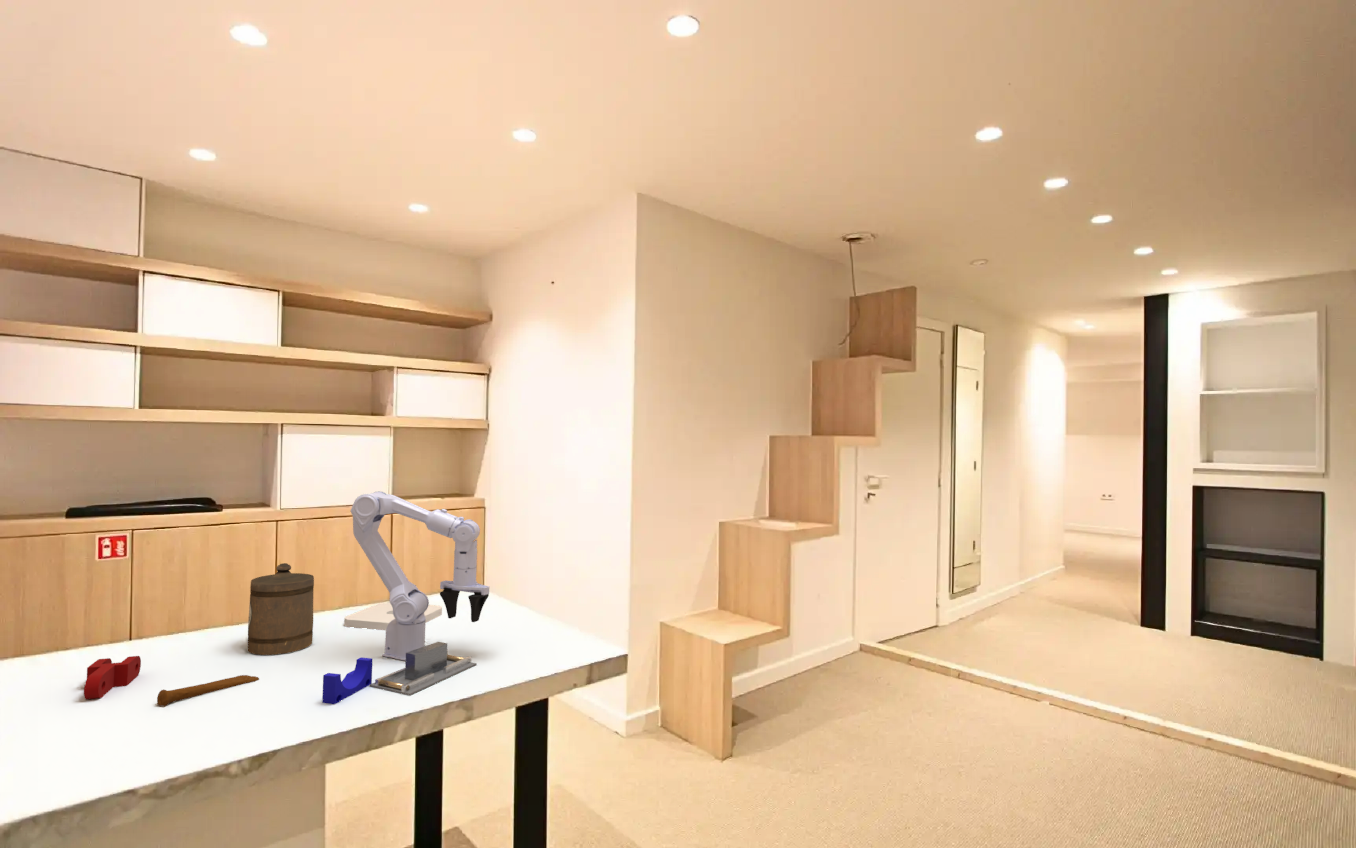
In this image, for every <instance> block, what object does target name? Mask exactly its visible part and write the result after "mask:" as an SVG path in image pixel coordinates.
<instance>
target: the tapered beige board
mask: <svg viewBox="0 0 1356 848" xmlns="http://www.w3.org/2000/svg"><path fill="white" fill-rule="evenodd" d="M424 615H425V617H426V623H425V624H427V623H428V622H430V621H433V620H434V619H436V618H438V617H441V616H442V615H443V606H441V605H437V604H429V605H428V608H427V610H426V611H425V612H424ZM394 619H395V617H394V615H393V608H392V605H391V604H390V601H387V602H386V601H385V602H379V603H377V604H374V605H371V606H369V607H366V608H364V609H361V610H359V611H357V612H354V613H351V614H349V615H345V616H344V619H343V620H344V621H343V622H344V623H343V624H344V625H343V626H344V627H346V628H350V627H354V628H353V629H362V628H367V629H366V630H374V629H376V630H377V631H386V628H387V626H388V624H389V623H390V622H391V621H392V620H394Z"/></svg>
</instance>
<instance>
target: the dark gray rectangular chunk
mask: <svg viewBox="0 0 1356 848" xmlns="http://www.w3.org/2000/svg"><path fill="white" fill-rule="evenodd" d="M447 654H448V643H447V642H442V641H436V642H433V643H429V644H427V645H425V646H424V647H421V648H418V649H416V650H413V651H410V652H407V653H406V661H405V663H404V664H405V665H404V666H405V667H404V668H405V679H408V680H412V681H413V680H415V679H418V678H420V677H422V676H425V675H427V674H429V673H436V672H438V671H441V670H443V667H445V666H447Z"/></svg>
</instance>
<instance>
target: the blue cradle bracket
mask: <svg viewBox="0 0 1356 848" xmlns="http://www.w3.org/2000/svg"><path fill="white" fill-rule="evenodd" d="M373 661H374V660H373V658H372V657H371V658H370V657H359V658H357V659H356V664H355V667H354V670H352V671H349V672H348V673H346V674H345V676H344V677H343V679H342V676H341V673H333V672H332V673H331V672H328V673H325V674H323V676H322V698H321V699H322V700H321V702H322V704H327V705H336V704H338V703H340V702H341V700H342V701H344V700H345V699H347V698H350V697H351V696H353V695H354V694H356V693H358V692H360V691H361V690H364V689H365V688H367V687H370V684H372V681H373V680H372V679H373Z"/></svg>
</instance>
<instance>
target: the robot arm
mask: <svg viewBox="0 0 1356 848" xmlns="http://www.w3.org/2000/svg"><path fill="white" fill-rule="evenodd" d="M350 514H351V516H352V533H353V536H354V538H355V540H356V541H357V543H358V544H359V546H360V548H361V549H362V550H363V553H364V554H365V556H366V557H367V559H368V560H369V562H370V564H371V565H372V567H373V568H374V571H375V572H376V573H377V575H378V576H379V578H380V580H381V582H382V583H383V584H384V586H385V588H386V589H387V591H388V593H389V602H390V604H391V605H392V608H393V615H394V617H395V619H394V620H392V621H391V622H390V623H389V624H388V626H387V628H386V630H385V638H384V653H382V655H381V656H382V657H386V658H392V659H396V660H401V661H405V662H406V653H407V652H410V651H413V650H416V649H418V648H421V647H424V646H426V645H425V643H426V624H427V623H426V617H425V615H424V612H425V611H426V610H427V608H428V605H430V604H429V603H430V601H429V598H428V596H427V594H426V593H425V592H423V591H421V590H420V589H419V588H418V587H417V585H416V584H414V583H413V582H411V581H409V579H408V577H407V576H406V574H405V573H404V571H403V569H402V567H401V566H400V565H399V563H398V561H397V560H396V558H395V557H394V555H393V553H392V552H391V550H390V548H389V546H387V543H386V542H385V540H384V539H383V537H382V535H381V534H380V532H379V528H380V524H381V522H382V519H383V518H384V517H385V516H386V515H388V514H389V515H390V514H398V515H401V516H404V517H406V518H409V519H413V520H416V521H418V522H421V523H423V524H425V526H426V529H427V530H429V531H430V532H434V533H436V534H439V535H441V536H444V537H446V538H449V539H452V540H453V542H454V551H453V557H454V559H453V578H452V579H453V580H442V581H440V583H439V584H440V587H439V588H440V590H442V591H440V592H439V595H440V597H441V598H442V602H443V603H444V606H445V610H446V614H447V618H448V619H453V618H455V617H456V615H457V610H458V609H457V605H458V600H459V596H460V592H466V593H470V595H468V596H467V597H468V600H469V606H470V621H471V622H472V623H475V622H478V621H480V616H481V613H482V610H483V607H484V605H485V603H486V602H487V599H488V597H489V594H490V586H488V585H484V584H481V583H478V581H477V566H478V563H477V562H478V561H477V560H478V537H479V536H480V532H481V529H480V525H479V524H478V523H477V522H476V521H474V520H473V519H470V518H469V519H465V517H464V516H459V517H458V516H457V515H454V514H451V513H449V512H448V510H447V509H445V508H442V509H438V508H437V509H434V510H428V509H425V508H424V507H421V506H419V505H416V504H415V503H413V502H411V501H407V500H406V499H403V498H402V497H399V496H397V495H394V494H391V493H388V494H387V492H384V491H381V490H380V491H374V492H371V493H363V494H360V495H359V496H357V497H356V498H355V499H354V501H353V504H352V506H351V508H350ZM464 519H465V520H464Z"/></svg>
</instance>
